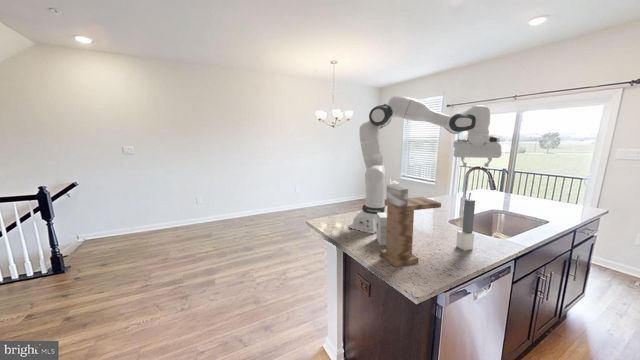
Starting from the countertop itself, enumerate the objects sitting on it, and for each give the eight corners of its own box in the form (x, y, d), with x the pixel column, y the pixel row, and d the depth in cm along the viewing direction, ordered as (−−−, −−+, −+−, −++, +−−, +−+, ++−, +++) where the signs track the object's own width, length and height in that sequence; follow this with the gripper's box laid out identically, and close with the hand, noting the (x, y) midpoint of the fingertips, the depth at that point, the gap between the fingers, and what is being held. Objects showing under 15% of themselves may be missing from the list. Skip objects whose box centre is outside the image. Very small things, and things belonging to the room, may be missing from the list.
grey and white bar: (468, 198, 119) (459, 199, 118) (477, 201, 114) (468, 202, 113) (464, 245, 123) (456, 246, 122) (472, 249, 118) (464, 250, 117)
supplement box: (375, 238, 133) (376, 212, 130) (392, 238, 133) (393, 212, 130) (379, 245, 124) (380, 217, 122) (397, 245, 124) (398, 217, 121)
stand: (419, 248, 120) (423, 182, 115) (437, 259, 109) (442, 187, 104) (379, 254, 114) (381, 185, 109) (394, 266, 103) (396, 190, 98)
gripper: (454, 139, 123) (452, 166, 125) (503, 138, 114) (500, 167, 116) (453, 139, 128) (451, 165, 131) (500, 138, 120) (497, 166, 122)
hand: (475, 166), depth 123 cm, fingers open, 8 cm apart
